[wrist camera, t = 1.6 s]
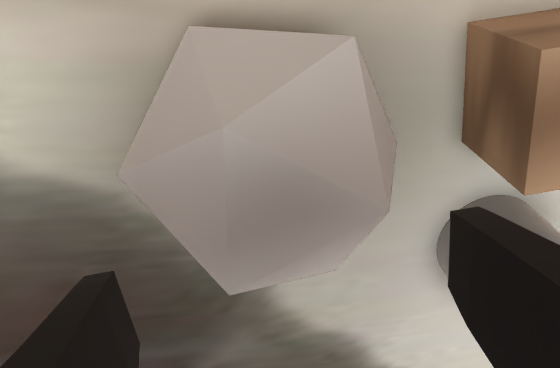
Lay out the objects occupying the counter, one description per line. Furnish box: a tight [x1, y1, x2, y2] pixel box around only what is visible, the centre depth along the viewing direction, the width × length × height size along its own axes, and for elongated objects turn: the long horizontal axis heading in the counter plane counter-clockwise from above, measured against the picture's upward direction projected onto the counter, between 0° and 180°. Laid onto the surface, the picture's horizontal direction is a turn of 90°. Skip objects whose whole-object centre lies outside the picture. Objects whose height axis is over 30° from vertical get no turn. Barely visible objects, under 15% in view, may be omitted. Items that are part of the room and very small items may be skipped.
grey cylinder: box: [437, 195, 560, 276], centre depth 22 cm, size 5×5×6 cm
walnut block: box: [462, 8, 560, 196], centre depth 18 cm, size 5×5×5 cm
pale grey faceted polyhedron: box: [117, 26, 397, 296], centre depth 17 cm, size 8×9×10 cm
